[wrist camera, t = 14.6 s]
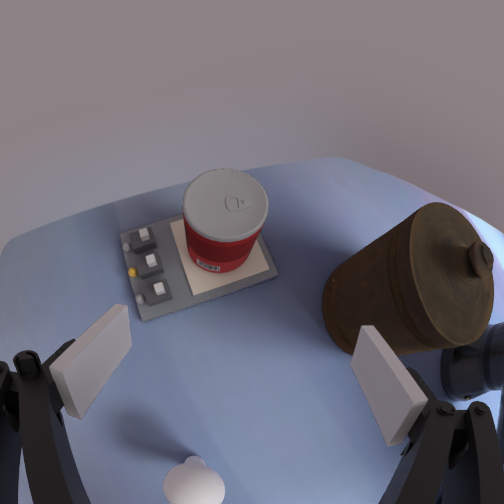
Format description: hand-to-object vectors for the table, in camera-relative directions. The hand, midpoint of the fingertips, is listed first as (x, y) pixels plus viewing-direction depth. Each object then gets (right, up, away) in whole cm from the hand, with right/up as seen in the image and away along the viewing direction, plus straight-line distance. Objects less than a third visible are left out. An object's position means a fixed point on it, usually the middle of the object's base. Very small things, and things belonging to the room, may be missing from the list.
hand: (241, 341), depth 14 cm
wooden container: (+17, -3, +23) cm, 29 cm away
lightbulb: (-6, -21, +12) cm, 25 cm away
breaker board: (-7, +4, +21) cm, 23 cm away
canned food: (-4, +5, +21) cm, 22 cm away
